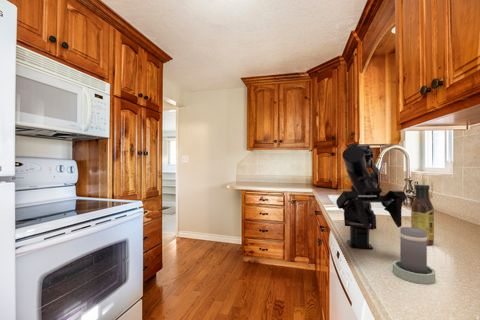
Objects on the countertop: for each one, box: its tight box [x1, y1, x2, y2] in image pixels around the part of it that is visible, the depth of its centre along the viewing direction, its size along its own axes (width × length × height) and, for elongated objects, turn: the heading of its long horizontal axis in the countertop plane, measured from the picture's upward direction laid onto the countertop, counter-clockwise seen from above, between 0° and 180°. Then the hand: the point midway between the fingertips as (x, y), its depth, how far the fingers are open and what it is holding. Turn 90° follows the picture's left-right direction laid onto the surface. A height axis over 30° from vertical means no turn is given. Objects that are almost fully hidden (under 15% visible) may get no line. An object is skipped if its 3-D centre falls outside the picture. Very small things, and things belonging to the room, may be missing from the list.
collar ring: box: [392, 259, 436, 285], centre depth 58 cm, size 8×8×2 cm
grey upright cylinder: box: [399, 226, 428, 274], centre depth 58 cm, size 5×5×11 cm
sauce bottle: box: [410, 184, 435, 246], centre depth 83 cm, size 6×6×20 cm
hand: (384, 227), depth 64 cm, fingers open, 9 cm apart
